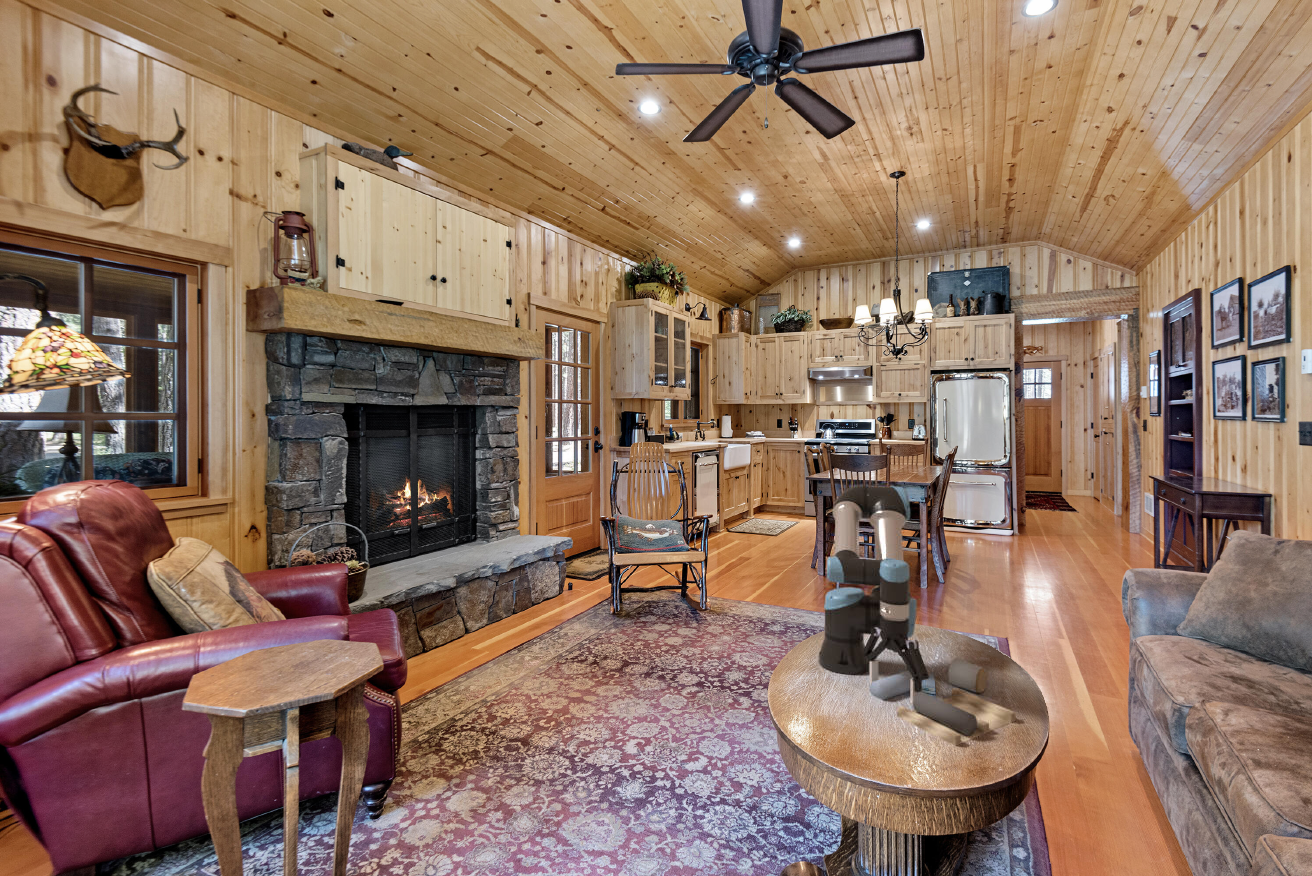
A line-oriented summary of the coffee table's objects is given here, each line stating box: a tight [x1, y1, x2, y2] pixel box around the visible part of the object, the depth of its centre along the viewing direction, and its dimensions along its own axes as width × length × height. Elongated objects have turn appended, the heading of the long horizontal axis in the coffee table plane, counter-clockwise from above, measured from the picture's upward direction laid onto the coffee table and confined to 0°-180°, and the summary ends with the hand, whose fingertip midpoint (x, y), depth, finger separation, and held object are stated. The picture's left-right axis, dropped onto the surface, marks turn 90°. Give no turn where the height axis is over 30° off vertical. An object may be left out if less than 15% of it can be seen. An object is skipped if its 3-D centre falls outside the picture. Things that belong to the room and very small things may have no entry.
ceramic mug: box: [947, 657, 988, 694], centre depth 169 cm, size 11×8×8 cm
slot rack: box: [896, 687, 1016, 747], centre depth 150 cm, size 16×24×3 cm, turn 119°
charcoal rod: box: [912, 691, 977, 736], centre depth 148 cm, size 14×5×5 cm
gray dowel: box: [869, 670, 913, 701], centre depth 165 cm, size 14×5×5 cm, turn 119°
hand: (893, 693), depth 165 cm, fingers open, 13 cm apart
